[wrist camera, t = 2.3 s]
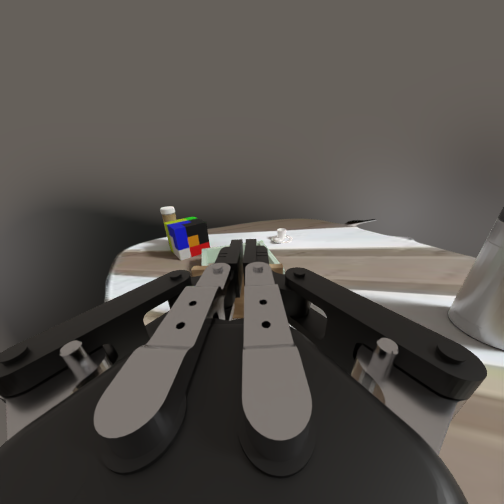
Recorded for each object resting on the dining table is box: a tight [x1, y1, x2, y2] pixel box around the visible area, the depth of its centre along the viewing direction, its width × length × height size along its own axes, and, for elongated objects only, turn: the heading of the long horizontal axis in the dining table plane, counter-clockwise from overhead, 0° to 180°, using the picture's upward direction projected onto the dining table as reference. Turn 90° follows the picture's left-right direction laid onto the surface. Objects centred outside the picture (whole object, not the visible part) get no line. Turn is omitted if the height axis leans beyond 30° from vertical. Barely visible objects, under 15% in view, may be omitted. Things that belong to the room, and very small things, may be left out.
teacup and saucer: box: [271, 228, 293, 243], centre depth 68 cm, size 9×8×4 cm
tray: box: [202, 241, 285, 274], centre depth 48 cm, size 18×18×4 cm
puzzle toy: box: [164, 217, 210, 260], centre depth 61 cm, size 10×10×10 cm
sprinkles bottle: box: [160, 206, 176, 230], centre depth 67 cm, size 5×5×13 cm
